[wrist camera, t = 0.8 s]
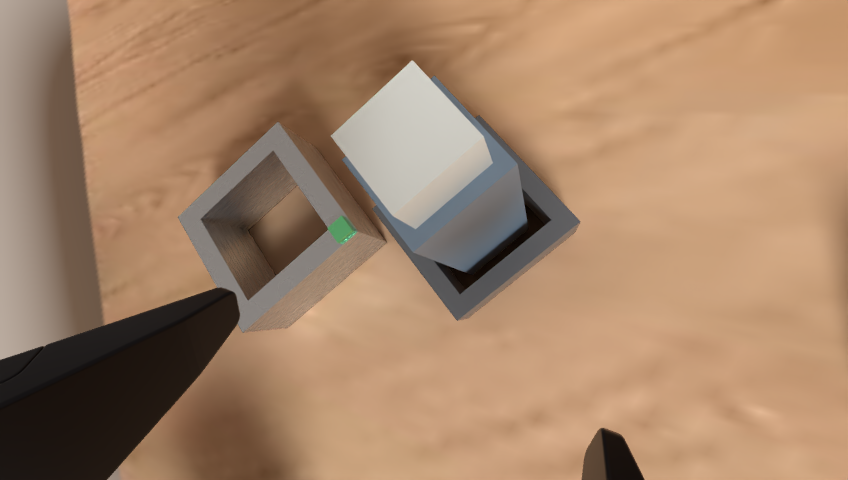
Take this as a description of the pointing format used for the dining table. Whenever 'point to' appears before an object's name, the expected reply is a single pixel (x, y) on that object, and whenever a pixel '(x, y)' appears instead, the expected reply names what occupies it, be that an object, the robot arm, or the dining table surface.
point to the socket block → (254, 197)
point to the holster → (511, 267)
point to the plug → (434, 172)
